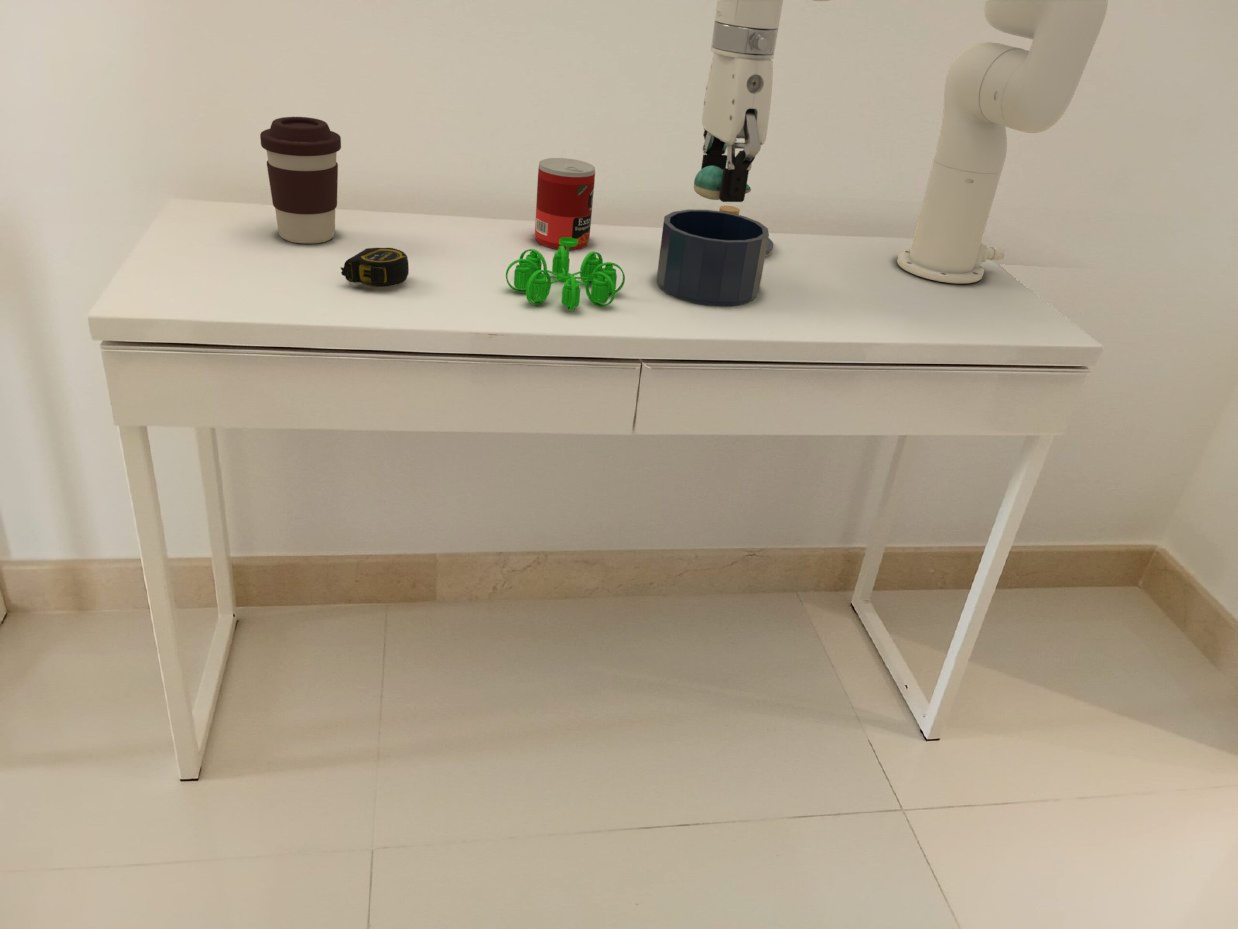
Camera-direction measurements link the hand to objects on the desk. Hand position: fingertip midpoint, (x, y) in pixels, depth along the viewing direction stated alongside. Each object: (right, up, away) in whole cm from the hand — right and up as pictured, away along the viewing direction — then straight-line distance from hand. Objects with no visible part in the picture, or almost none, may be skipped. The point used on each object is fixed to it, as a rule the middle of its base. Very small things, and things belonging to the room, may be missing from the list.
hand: (721, 192), depth 126 cm
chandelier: (-20, -13, -1) cm, 24 cm away
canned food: (-21, -3, +17) cm, 27 cm away
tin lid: (+3, -1, +23) cm, 23 cm away
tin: (-1, -11, +6) cm, 13 cm away
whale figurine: (0, -1, 0) cm, 1 cm away
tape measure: (-43, -12, -4) cm, 45 cm away
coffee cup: (-55, -4, +9) cm, 56 cm away
